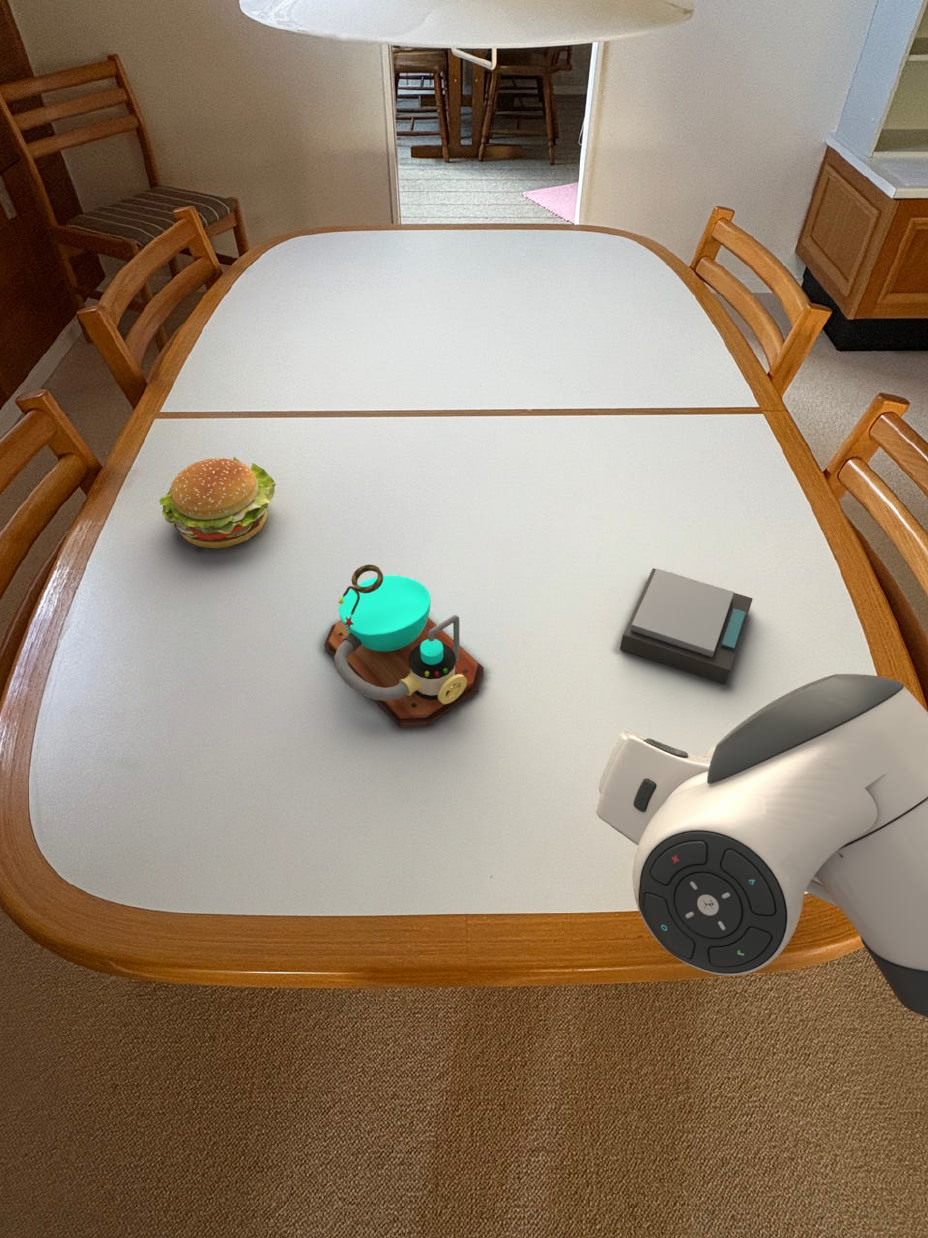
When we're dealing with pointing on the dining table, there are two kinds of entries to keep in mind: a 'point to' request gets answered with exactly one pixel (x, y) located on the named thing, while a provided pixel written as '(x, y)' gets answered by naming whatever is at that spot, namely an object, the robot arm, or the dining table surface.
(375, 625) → the contraption on wooden base
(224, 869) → the dining table surface
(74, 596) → the dining table surface
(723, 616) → the scale
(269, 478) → the food
